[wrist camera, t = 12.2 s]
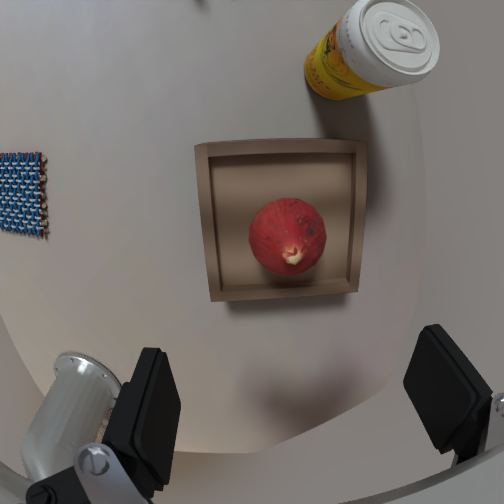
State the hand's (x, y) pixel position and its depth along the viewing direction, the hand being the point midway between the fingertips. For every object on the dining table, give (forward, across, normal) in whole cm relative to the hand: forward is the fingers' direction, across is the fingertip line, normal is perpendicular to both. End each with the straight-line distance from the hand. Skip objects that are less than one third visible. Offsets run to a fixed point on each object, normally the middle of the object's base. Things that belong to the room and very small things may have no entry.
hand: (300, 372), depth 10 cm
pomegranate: (+18, -2, 0) cm, 18 cm away
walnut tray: (+22, -2, 0) cm, 23 cm away
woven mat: (+24, +30, -5) cm, 39 cm away
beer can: (+23, -8, -14) cm, 28 cm away
